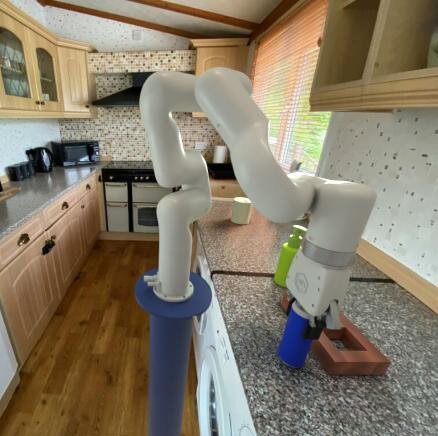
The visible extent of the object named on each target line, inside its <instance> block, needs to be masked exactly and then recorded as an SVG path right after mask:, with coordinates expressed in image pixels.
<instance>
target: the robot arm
mask: <svg viewBox="0 0 438 436" xmlns="http://www.w3.org/2000/svg"><path fill="white" fill-rule="evenodd" d="M253 95H254V87H253V83H252V81H251V78H249V76H248V75H247V74H245V73H244V72H242V71H239V70H236V69H232V68H229V67H224V66H215V67H210V68H208V69H207V70H206V71H204V72H203V73H202V74H201V75H196V74H190V73H186V72H181V71H176V70H171V69H170V70H169V69H168V70H167V69H166V70H165V69H164V70H158V71H155V72H153V73H152V74H150V75H149V76H148V77H147V79H145V82H144V83H143V85H142V88H141V91H140V95H139V112H140V117H141V121H142V125H143V127H144V131H145V133H146V137H147V142H148V147H149V151H150V156H151V162H152V167H153V172H154V176H155V179H156V182H157V184H158V185H159V186H160V187H162V188H164V189H173V188H177V187H180V186H181V189H180V190H177V191H174V192H171V193H168V194H166V195H165V196H163V197H162V198H161V199H160V200H159V202H158V203H157V206H156V218H157V222H158V231H159V232H158V236H159V241H158V243H159V244H158V246H159V248H158V268H159V272H157V275H154V276H144V282H148V286H153V290H154V293H155V294H156V295H157V296H158V297H159V298H161V299H162V300H165V301H168V302H182V301H185V300H187V299H189V298H190V297H191V296H192V294H193V285H192V283H191V282H190V281H189V276H190V271H191V265H192V264H191V263H192V255H193V254H192V253H193V235H192V232H191V229H190V225H191V224H192V223H194V222H196V221H198V220H200V219H202V218H204V217H205V216H206V215H208V214H209V213H210V211H211V209H212V206H213V198H212V197H213V195H212V191H211V184H210V178H209V172H208V166H207V161H206V160H205V158H204V156H203V155H202V154H201V153H200V152H199V151H198V150H196V149H193V148H184V145H183V141H182V133H181V131H180V127H179V125H178V124H177V122H176V120H175V119H174V118H173V115H172V113H173V112H174V113H199V114H201V113H202V114H204V115H205V116H206V118H207V120H208V121H209V122H210V123H211V125H212V126H213V128H214V129H215V130H216V132H217V133H218V135H219V136H220V138H221V139H222V141H223V142H224V143H225V145H226V146H227V148H228V150H229V153H230V161H231V166H232V169H233V172H234V176H235V178H236V181H237V183H238V185H239V186H240V188H241V190H242V191H243V193H244V194H245V196H246V198H248V199H249V200H250V201H251V203H252V207H254V208H255V210H256V211H257V212H258V213H259V214H260V215H261V216H262V217H263V218H265V219H266V220H268V221H269V222H272V223H276V224H288V223H292V222H294V221H297V220H298V219H300V218H301V217H302V216H304V214H308V215H310V217H309V218H310V219H309V222H308V225H307V228H306V229H307V232H306V233H305V235H304V238H303V241H302V245H300V246H301V247H300V248H299V250H298V251H297V253H296V255H295V257H294V259H293V261H292V264H291V266H290V269H289V272H288V275H287V278H286V286H287V287H286V288H287V289H288V291H289V293H288V294H289V299H290V300H289V304H288V307H287V310H286V313H285V316H287V318H288V317H289V313H290V310H291V307H292V304H293V303H294V302H295V300H298V302H299V303H300V304H301V305H302V306H303V308H304V309H305V310H306V311H307V312H308V313H309V314H310V319H309V322H306V324H305V327H304V330H303V333H302V338H303V339H304V340H318V339H319V338H320V335H321V333H322V330H323V328H328V329H336V330H340V329H341V323H340V318H339V312H340V311H341V310H342V307H343V305H344V302H345V299H346V296H347V293H348V288H349V284H350V279H351V273H352V272H351V271H352V270H351V268H350V267H351V266H352V263H353V260H354V257H355V255H356V252H357V250H358V247H359V245H360V242H361V240H362V237H363V235H364V232H365V229H366V227H367V225H368V222H369V219H370V217H371V214H372V212H373V209H374V207H375V204H376V201H377V198H378V195H377V191H376V190H375V189H374V188H372V187H371V186H368V185H367V184H363V183H359V182H353V181H345V180H330V179H328V178H324V177H319V176H316V175H312V174H309V173H304V172H293V173H289V174H287V172H286V171H285V170H284V169H283V167H282V166H281V164H280V162H278V159H277V158H276V156H275V154H274V153H273V151H272V147H271V145H270V142H269V133H270V129H271V128H270V126H271V123H270V119H269V118H268V117H267V115H266V114H265V112H263V110H262V109H261V108H260V106H259V105H258V104H257V103H256V101H255V100H254V98H253ZM317 316H321V320H317Z"/></svg>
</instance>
